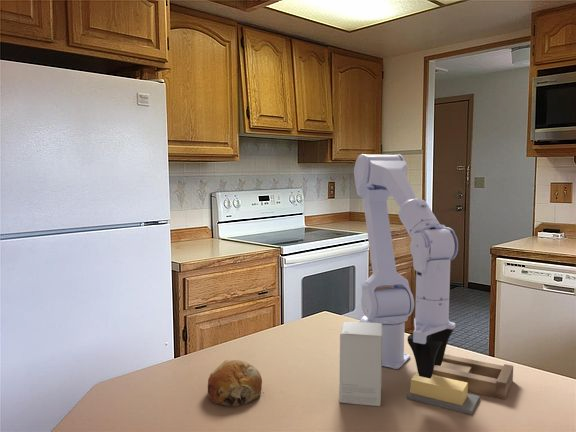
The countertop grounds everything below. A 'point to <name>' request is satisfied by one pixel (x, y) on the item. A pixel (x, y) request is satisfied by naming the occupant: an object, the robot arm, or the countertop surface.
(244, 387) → the bread roll
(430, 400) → the mat
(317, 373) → the countertop surface
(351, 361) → the supplement box
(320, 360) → the countertop surface
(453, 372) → the pocket board
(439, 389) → the bar
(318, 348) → the countertop surface
